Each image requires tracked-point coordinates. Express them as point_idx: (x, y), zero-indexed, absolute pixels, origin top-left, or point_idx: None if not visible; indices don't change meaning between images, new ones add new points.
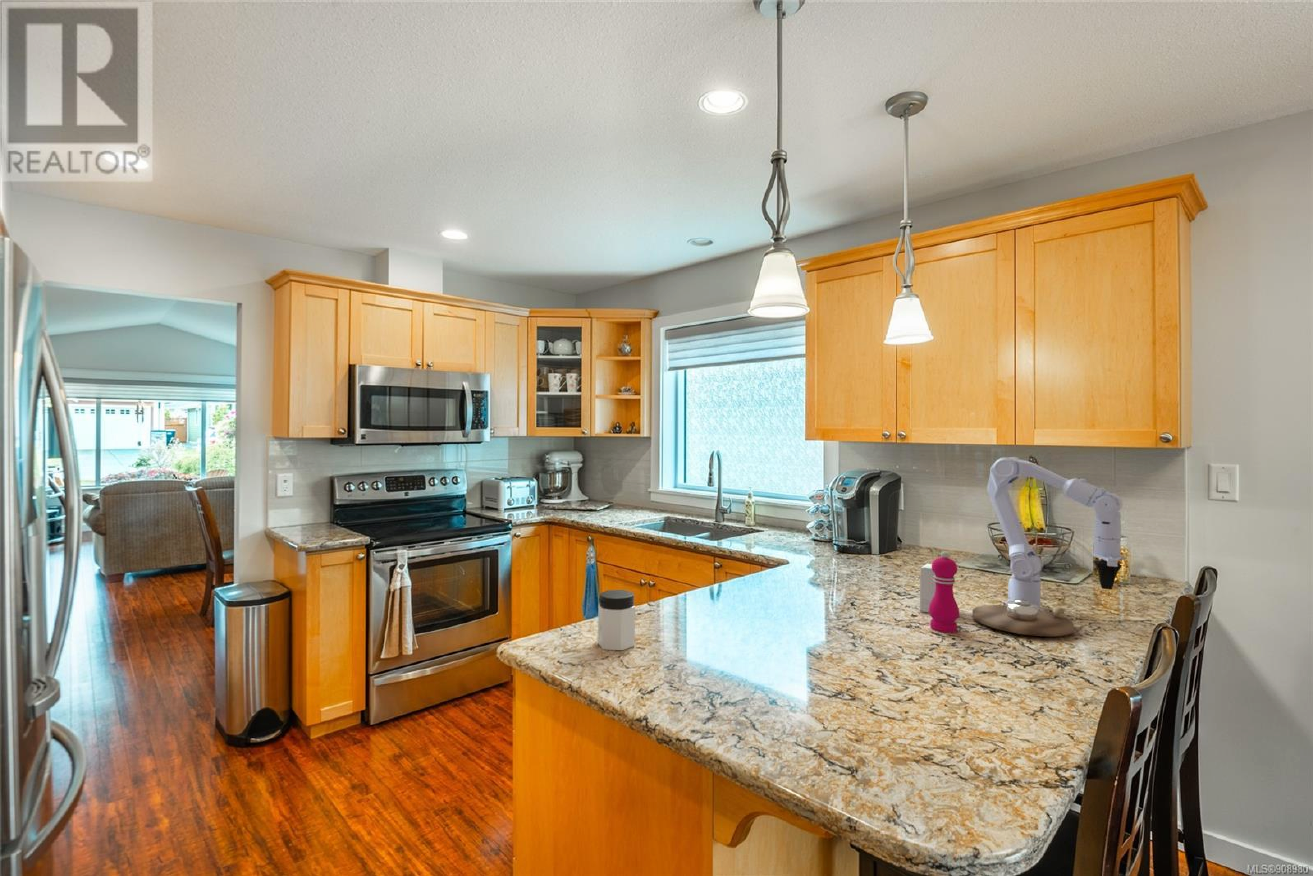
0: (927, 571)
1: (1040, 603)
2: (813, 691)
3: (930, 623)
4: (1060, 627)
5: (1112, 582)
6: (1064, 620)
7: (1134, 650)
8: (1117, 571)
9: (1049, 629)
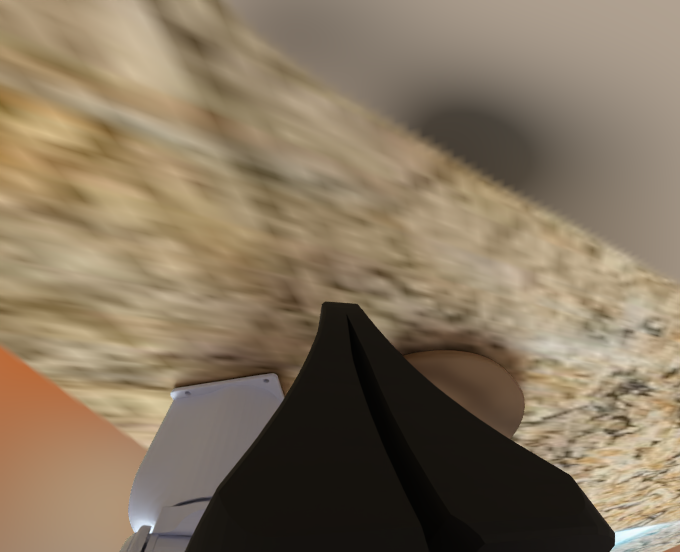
0: None
1: (246, 402)
2: (640, 526)
3: None
4: (493, 388)
5: (378, 338)
6: (427, 373)
7: (594, 247)
8: (488, 428)
9: (510, 406)
